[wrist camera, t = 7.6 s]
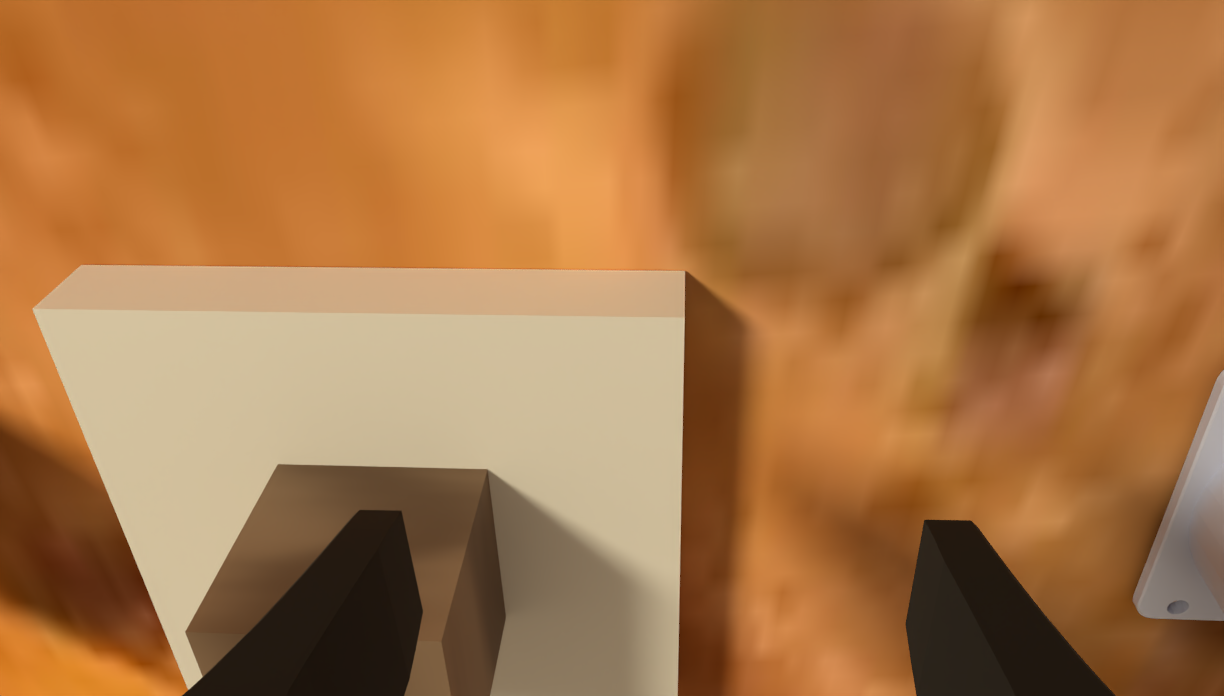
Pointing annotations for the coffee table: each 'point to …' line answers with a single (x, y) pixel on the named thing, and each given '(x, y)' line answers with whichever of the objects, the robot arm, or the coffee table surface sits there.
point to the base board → (403, 431)
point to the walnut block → (440, 549)
